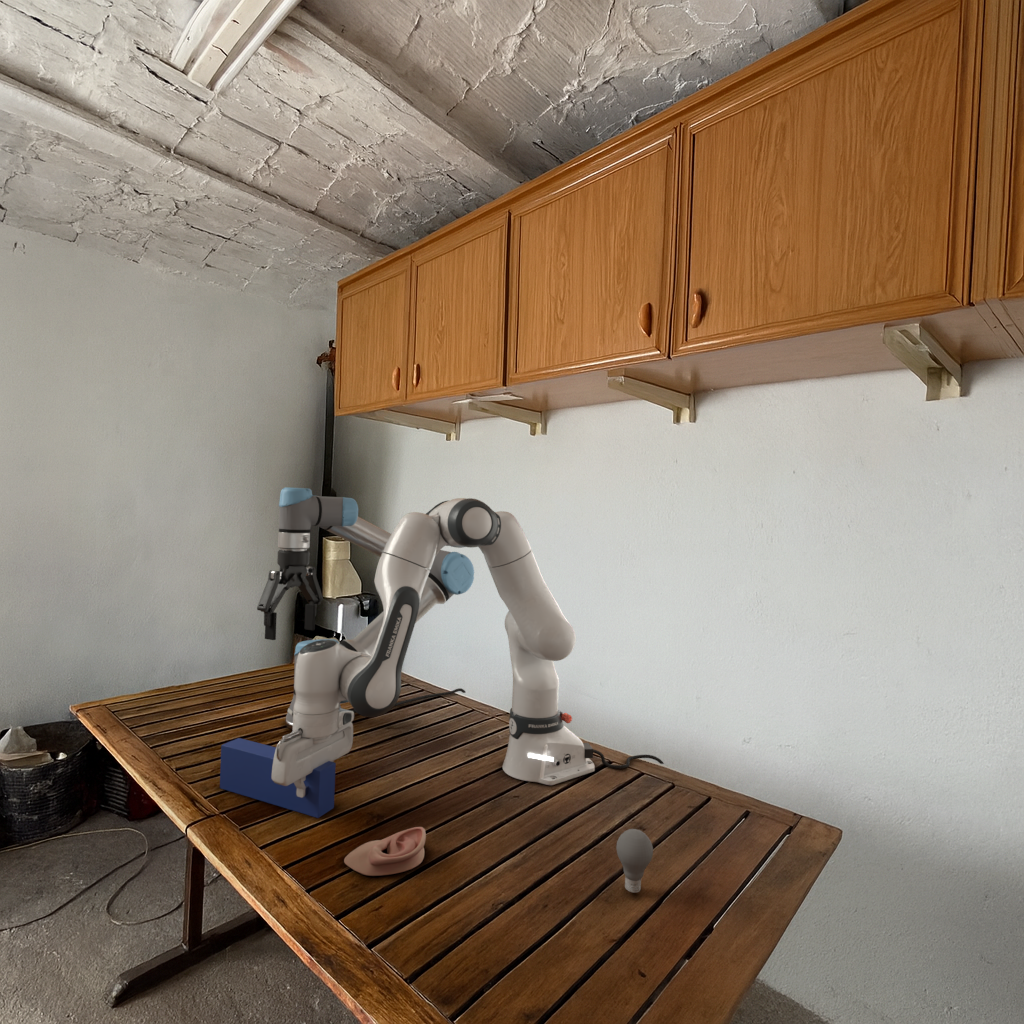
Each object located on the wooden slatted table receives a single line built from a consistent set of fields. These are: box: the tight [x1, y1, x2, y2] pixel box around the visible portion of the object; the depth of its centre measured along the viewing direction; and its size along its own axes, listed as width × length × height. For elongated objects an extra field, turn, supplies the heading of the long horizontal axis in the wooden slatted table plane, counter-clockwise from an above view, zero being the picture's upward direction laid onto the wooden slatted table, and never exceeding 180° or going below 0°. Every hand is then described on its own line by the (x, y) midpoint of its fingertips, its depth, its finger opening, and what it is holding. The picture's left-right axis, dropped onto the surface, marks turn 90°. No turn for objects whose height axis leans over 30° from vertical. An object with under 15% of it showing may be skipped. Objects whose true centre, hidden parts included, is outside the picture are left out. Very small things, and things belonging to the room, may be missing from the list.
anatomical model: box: [343, 826, 427, 877], centre depth 112 cm, size 13×4×12 cm
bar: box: [219, 737, 337, 819], centre depth 132 cm, size 27×5×9 cm, turn 66°
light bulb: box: [615, 828, 654, 894], centre depth 106 cm, size 6×6×10 cm
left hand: (290, 634), depth 158 cm, fingers open, 13 cm apart
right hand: (313, 789), depth 129 cm, fingers closed on bar, 5 cm apart
